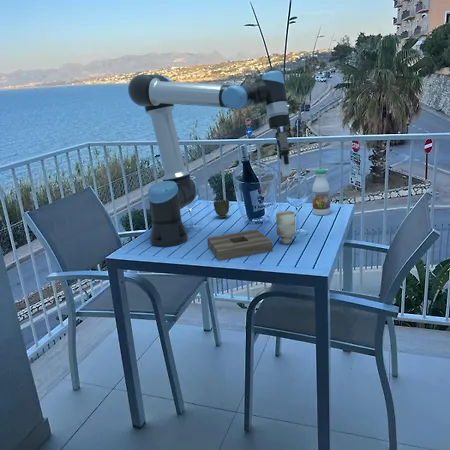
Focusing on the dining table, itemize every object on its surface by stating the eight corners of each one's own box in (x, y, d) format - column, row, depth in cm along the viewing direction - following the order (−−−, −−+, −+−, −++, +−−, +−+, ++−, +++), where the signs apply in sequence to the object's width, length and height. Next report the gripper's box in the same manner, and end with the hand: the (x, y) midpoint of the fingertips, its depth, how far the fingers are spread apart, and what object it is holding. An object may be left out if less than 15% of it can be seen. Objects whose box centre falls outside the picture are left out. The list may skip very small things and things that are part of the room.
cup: (228, 219, 187) (227, 203, 184) (213, 220, 188) (211, 203, 186) (231, 215, 194) (230, 198, 191) (216, 215, 195) (215, 199, 193)
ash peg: (274, 240, 156) (273, 212, 152) (290, 237, 157) (290, 209, 154) (281, 246, 149) (280, 217, 146) (298, 243, 151) (297, 214, 147)
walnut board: (208, 246, 156) (207, 237, 155) (257, 237, 161) (256, 229, 160) (218, 260, 141) (217, 251, 140) (272, 251, 146) (272, 241, 145)
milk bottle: (310, 212, 188) (309, 169, 182) (325, 210, 189) (325, 167, 183) (316, 216, 181) (315, 172, 175) (332, 214, 182) (332, 170, 176)
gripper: (291, 106, 133) (300, 171, 134) (287, 121, 158) (294, 175, 159) (268, 110, 134) (277, 174, 135) (267, 124, 159) (275, 178, 160)
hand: (286, 175), depth 147 cm, fingers open, 13 cm apart
